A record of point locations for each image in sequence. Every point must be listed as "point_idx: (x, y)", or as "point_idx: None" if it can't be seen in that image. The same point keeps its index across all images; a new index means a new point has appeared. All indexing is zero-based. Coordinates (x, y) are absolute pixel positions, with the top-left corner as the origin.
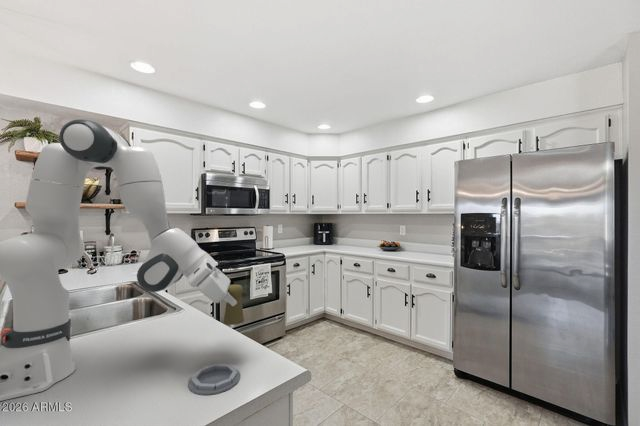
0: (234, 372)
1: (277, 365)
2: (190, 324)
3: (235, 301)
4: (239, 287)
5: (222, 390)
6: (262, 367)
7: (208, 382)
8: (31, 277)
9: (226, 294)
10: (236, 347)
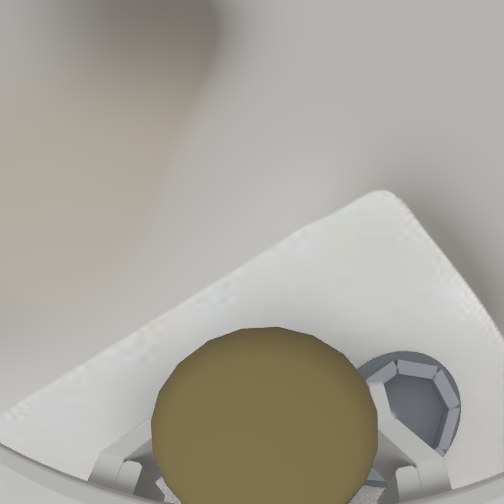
0: (404, 367)
1: (343, 242)
2: None
3: (384, 395)
4: (339, 369)
5: (456, 386)
6: (349, 287)
7: (417, 433)
8: None
9: (444, 485)
10: None
